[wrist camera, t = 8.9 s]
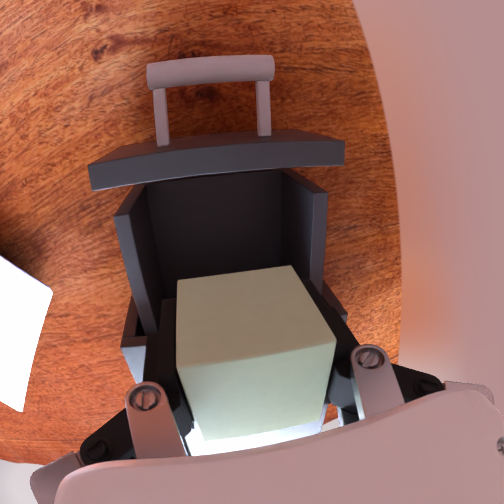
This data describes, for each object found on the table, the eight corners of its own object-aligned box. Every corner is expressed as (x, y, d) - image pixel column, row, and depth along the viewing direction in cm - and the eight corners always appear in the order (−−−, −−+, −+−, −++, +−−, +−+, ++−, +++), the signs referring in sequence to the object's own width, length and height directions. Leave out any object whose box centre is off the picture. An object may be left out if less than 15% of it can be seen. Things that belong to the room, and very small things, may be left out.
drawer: (115, 81, 15) (77, 69, 9) (295, 67, 17) (343, 51, 11) (156, 319, 23) (151, 384, 17) (294, 299, 25) (324, 357, 19)
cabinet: (138, 268, 22) (119, 347, 14) (300, 247, 24) (348, 313, 16) (175, 389, 29) (178, 460, 21) (293, 371, 30) (319, 436, 23)
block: (177, 279, 11) (175, 367, 7) (291, 264, 12) (337, 339, 8) (194, 360, 13) (202, 442, 9) (288, 345, 14) (320, 420, 10)
